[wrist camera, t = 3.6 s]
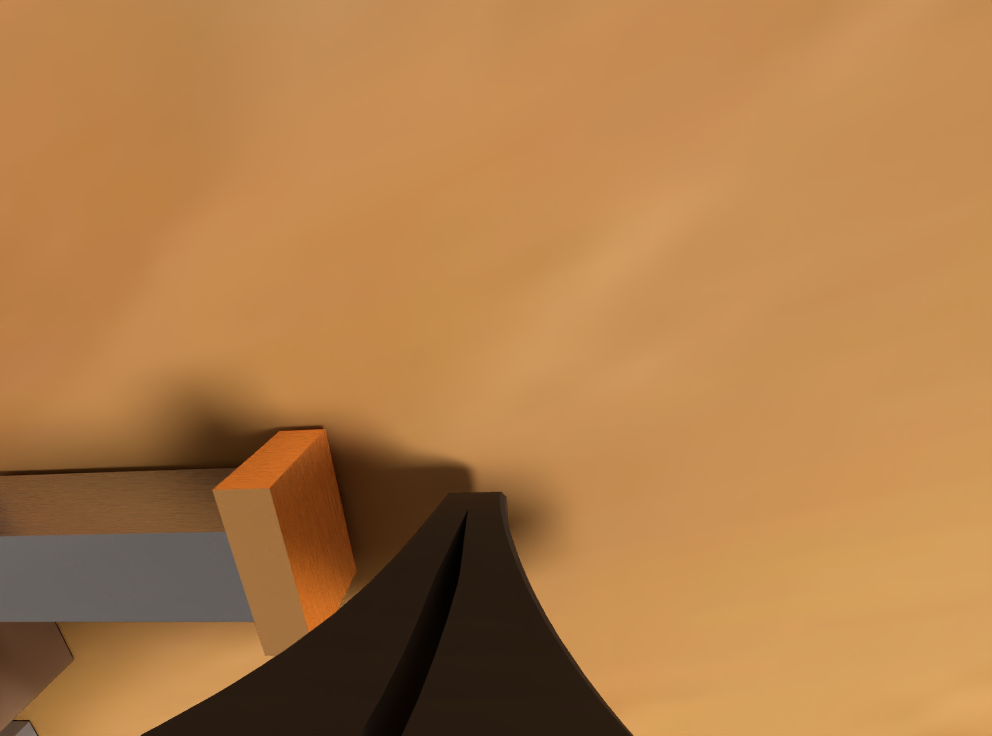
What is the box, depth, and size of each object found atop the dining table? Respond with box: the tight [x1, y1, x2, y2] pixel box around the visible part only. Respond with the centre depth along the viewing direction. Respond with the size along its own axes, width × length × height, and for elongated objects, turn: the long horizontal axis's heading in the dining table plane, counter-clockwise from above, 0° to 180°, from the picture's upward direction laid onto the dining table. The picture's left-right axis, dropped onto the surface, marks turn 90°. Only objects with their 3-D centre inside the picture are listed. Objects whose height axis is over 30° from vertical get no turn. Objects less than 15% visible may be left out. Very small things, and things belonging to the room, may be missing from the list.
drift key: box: [0, 429, 356, 656], centre depth 12 cm, size 4×10×3 cm, turn 95°
